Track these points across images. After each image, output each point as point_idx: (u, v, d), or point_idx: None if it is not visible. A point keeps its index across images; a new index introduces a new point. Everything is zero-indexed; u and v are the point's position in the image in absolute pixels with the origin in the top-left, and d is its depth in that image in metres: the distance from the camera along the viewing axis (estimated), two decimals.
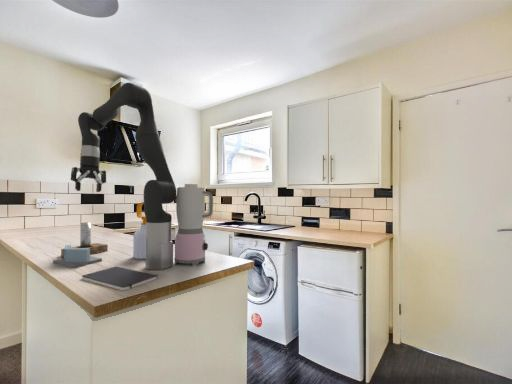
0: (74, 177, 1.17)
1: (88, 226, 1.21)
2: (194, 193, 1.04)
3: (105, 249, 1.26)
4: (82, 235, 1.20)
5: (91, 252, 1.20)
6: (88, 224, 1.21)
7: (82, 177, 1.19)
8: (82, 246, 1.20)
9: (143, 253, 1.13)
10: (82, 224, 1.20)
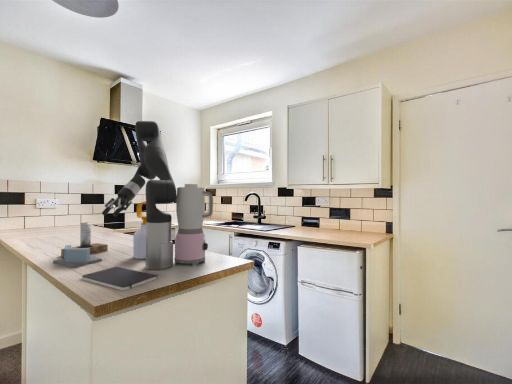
0: (106, 204, 1.38)
1: (88, 226, 1.21)
2: (194, 193, 1.04)
3: (105, 249, 1.26)
4: (82, 235, 1.20)
5: (91, 252, 1.20)
6: (88, 224, 1.21)
7: (110, 203, 1.36)
8: (82, 246, 1.20)
9: (143, 253, 1.13)
10: (82, 224, 1.20)
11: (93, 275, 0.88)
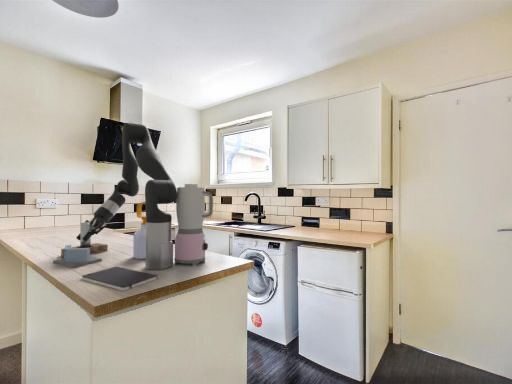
0: None
1: (88, 226, 1.21)
2: (194, 193, 1.04)
3: (105, 249, 1.26)
4: (82, 235, 1.20)
5: (91, 252, 1.20)
6: (88, 224, 1.21)
7: None
8: (82, 245, 1.20)
9: (143, 253, 1.13)
10: (82, 224, 1.20)
11: (93, 275, 0.88)
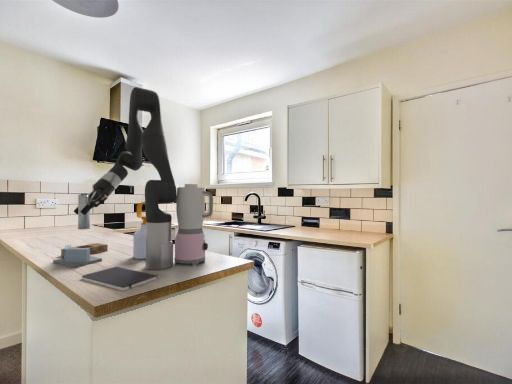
0: None
1: (87, 198, 1.09)
2: (194, 193, 1.04)
3: (105, 249, 1.26)
4: (80, 208, 1.07)
5: (91, 252, 1.20)
6: (87, 196, 1.09)
7: None
8: (80, 220, 1.07)
9: (143, 253, 1.13)
10: (80, 196, 1.07)
11: (93, 275, 0.88)
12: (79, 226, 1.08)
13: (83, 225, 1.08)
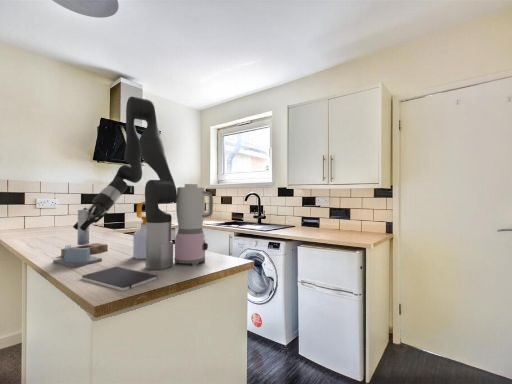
0: None
1: (86, 214, 1.09)
2: (194, 193, 1.04)
3: (105, 249, 1.26)
4: (80, 224, 1.07)
5: (91, 252, 1.20)
6: (86, 211, 1.09)
7: None
8: (80, 235, 1.08)
9: (143, 253, 1.13)
10: (79, 211, 1.07)
11: (93, 275, 0.88)
12: (78, 242, 1.08)
13: (83, 241, 1.08)
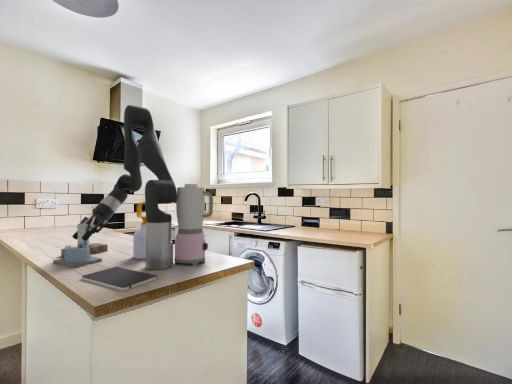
0: None
1: (86, 228, 1.09)
2: (194, 193, 1.04)
3: (105, 249, 1.26)
4: (79, 238, 1.07)
5: (91, 252, 1.20)
6: (86, 225, 1.09)
7: None
8: None
9: (143, 253, 1.13)
10: (79, 226, 1.07)
11: (93, 275, 0.88)
12: None
13: None
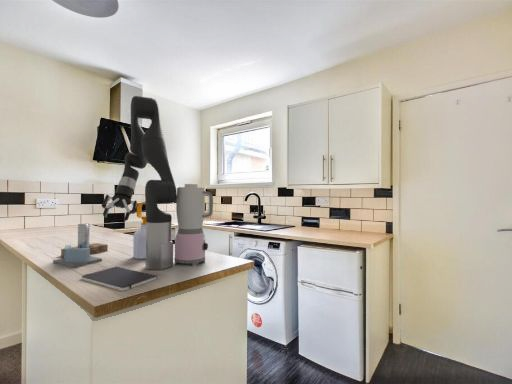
0: (103, 203, 1.22)
1: (86, 228, 1.09)
2: (194, 193, 1.04)
3: (105, 249, 1.26)
4: (80, 238, 1.08)
5: (91, 252, 1.20)
6: (86, 226, 1.09)
7: (110, 204, 1.23)
8: None
9: (143, 253, 1.13)
10: (80, 226, 1.07)
11: (93, 275, 0.88)
12: None
13: None
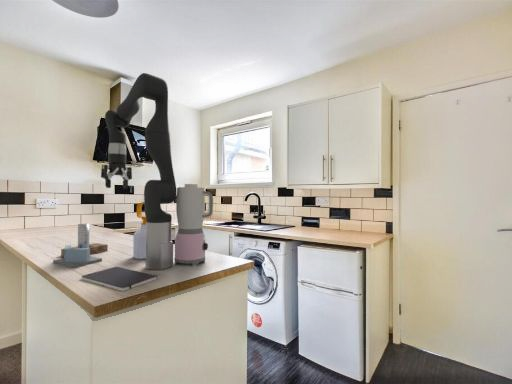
0: (105, 175, 1.19)
1: (86, 228, 1.09)
2: (194, 193, 1.04)
3: (105, 249, 1.26)
4: (80, 238, 1.08)
5: (91, 252, 1.20)
6: (86, 226, 1.09)
7: (112, 174, 1.22)
8: None
9: (143, 253, 1.13)
10: (80, 226, 1.08)
11: (93, 275, 0.88)
12: None
13: None
